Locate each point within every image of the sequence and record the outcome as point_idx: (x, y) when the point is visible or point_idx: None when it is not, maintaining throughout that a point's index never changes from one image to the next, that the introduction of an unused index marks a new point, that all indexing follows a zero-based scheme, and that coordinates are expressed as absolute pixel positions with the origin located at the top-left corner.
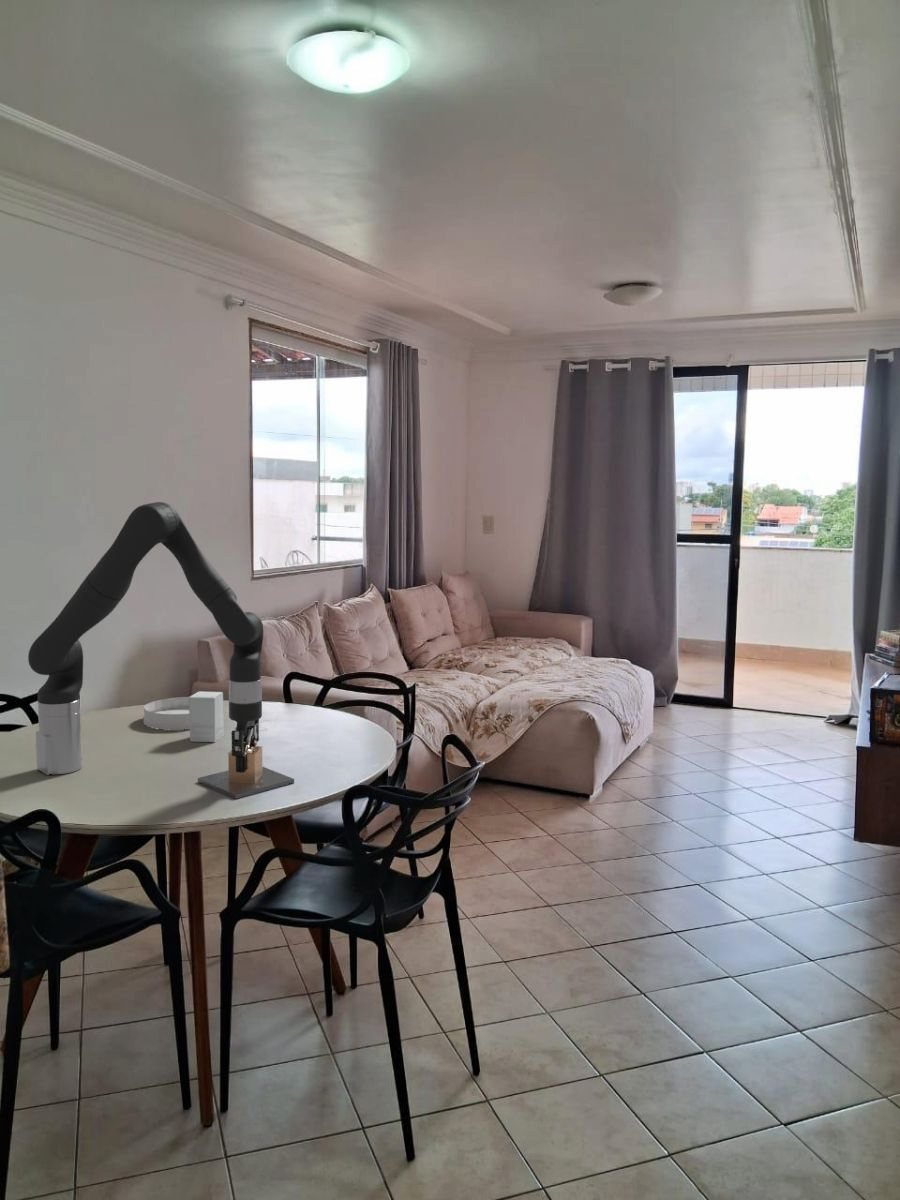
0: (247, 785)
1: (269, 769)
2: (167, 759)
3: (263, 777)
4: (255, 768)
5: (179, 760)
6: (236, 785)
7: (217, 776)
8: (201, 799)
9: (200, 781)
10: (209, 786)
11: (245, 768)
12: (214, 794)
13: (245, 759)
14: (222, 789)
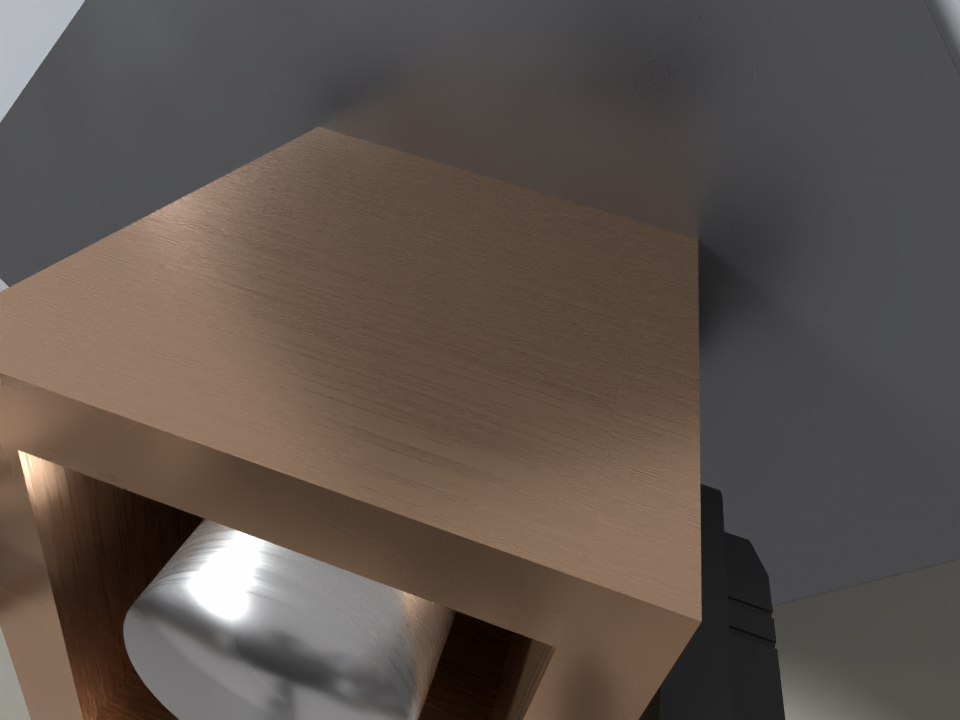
0: (775, 341)
1: (81, 21)
2: (18, 707)
3: (435, 108)
4: (649, 335)
5: (12, 667)
6: (728, 460)
7: None
8: (935, 714)
9: None
10: None
11: (705, 517)
12: (817, 614)
13: (703, 671)
14: (814, 589)
